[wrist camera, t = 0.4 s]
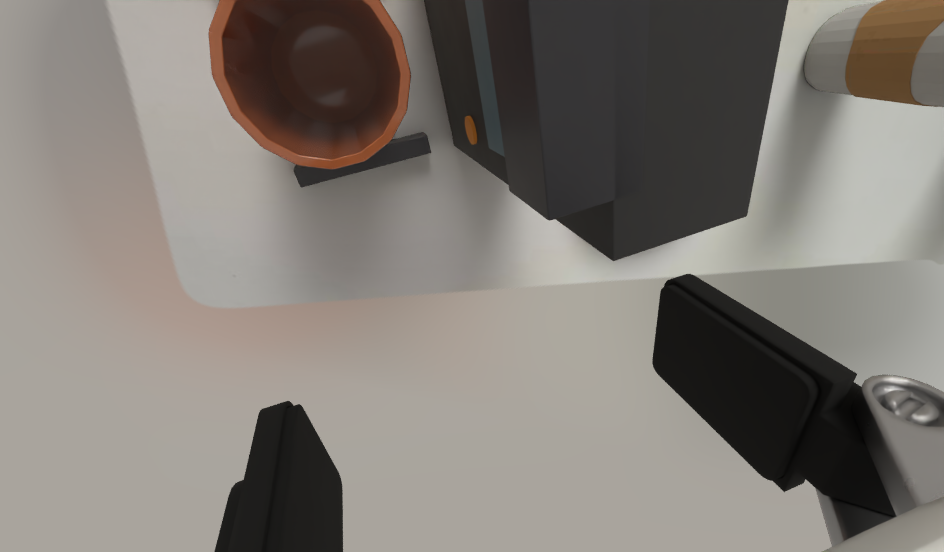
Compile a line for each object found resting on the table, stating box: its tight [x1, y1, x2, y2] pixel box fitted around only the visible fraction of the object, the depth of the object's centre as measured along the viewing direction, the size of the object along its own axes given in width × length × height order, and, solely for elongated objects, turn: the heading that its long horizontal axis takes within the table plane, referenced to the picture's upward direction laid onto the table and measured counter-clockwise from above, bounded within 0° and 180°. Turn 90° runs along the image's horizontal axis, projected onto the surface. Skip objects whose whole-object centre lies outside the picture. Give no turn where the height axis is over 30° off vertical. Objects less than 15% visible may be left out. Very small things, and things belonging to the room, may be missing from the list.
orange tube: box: [209, 0, 411, 169], centre depth 20 cm, size 7×7×12 cm
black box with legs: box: [294, 0, 788, 261], centre depth 17 cm, size 13×16×20 cm
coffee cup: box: [804, 0, 944, 107], centre depth 28 cm, size 8×8×15 cm
